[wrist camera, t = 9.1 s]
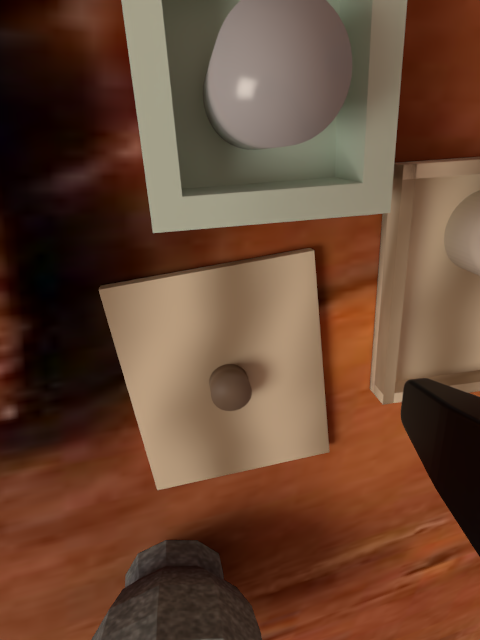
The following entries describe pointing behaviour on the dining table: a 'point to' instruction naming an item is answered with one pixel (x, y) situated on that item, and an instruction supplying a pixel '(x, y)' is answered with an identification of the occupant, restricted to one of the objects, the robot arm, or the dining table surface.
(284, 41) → the grey rounded piece
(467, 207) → the pale pebble
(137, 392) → the tray lid
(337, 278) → the dining table surface
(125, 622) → the mortar and pestle
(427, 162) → the birch tray
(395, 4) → the sage bin
